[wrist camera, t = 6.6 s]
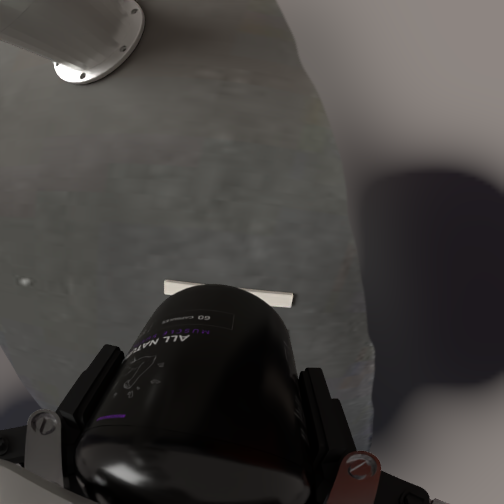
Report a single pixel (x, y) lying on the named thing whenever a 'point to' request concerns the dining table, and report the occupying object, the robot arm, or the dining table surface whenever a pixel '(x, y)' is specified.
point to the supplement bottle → (201, 410)
